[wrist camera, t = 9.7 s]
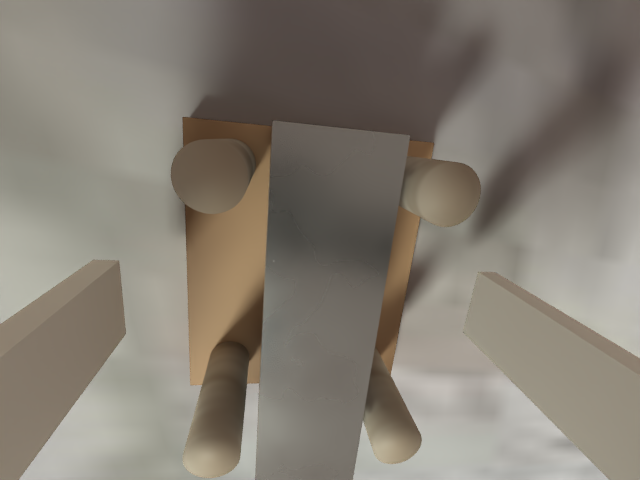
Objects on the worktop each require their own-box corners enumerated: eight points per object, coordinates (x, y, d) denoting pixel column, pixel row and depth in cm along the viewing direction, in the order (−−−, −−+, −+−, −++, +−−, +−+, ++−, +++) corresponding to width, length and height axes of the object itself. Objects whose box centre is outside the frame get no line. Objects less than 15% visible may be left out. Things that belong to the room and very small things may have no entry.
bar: (328, 381, 16) (352, 479, 12) (259, 383, 16) (254, 488, 11) (359, 136, 13) (410, 135, 8) (271, 127, 12) (272, 120, 8)
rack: (195, 370, 16) (154, 495, 11) (189, 118, 13) (125, 103, 7) (383, 366, 18) (435, 472, 12) (423, 142, 14) (522, 145, 9)
